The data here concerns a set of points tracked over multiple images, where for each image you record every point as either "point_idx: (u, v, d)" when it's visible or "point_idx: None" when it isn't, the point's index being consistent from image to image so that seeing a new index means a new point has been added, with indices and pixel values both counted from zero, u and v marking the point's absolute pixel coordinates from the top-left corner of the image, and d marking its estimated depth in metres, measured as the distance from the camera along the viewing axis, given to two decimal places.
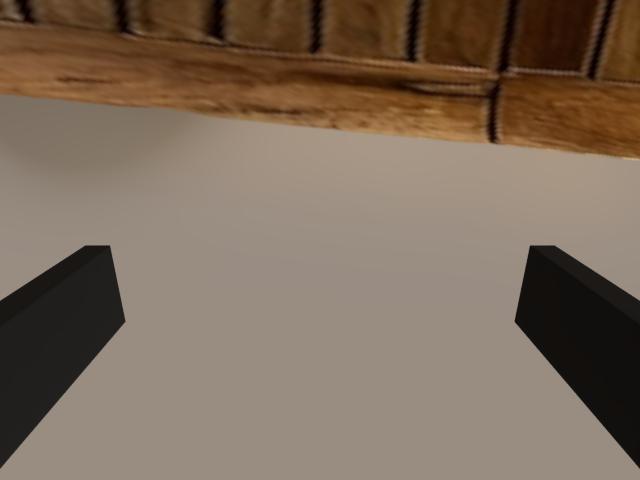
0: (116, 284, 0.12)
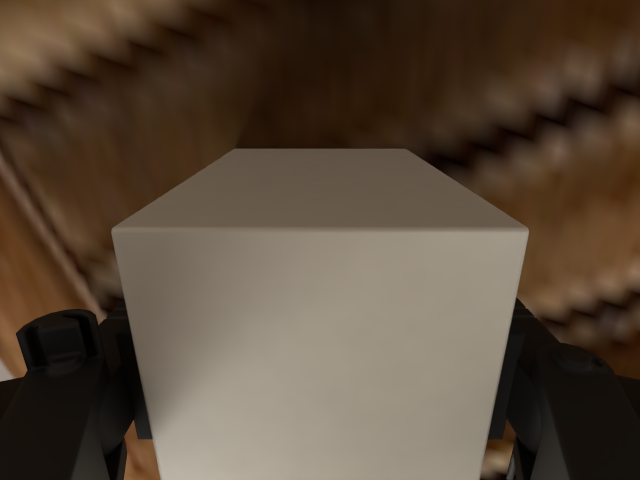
0: None
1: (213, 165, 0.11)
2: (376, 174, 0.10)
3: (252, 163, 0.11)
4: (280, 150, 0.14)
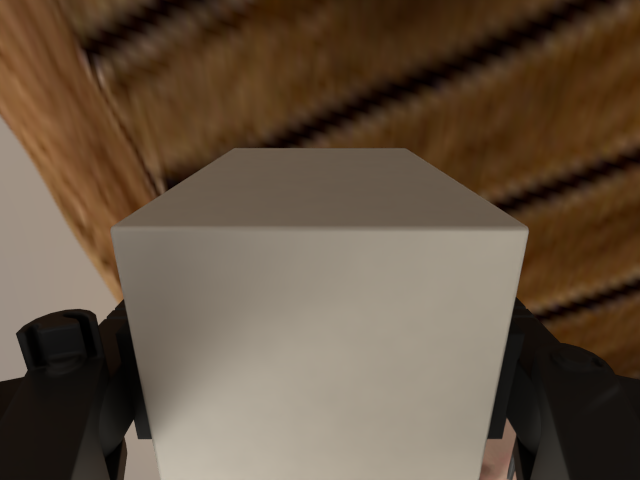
0: None
1: (213, 164, 0.11)
2: (376, 173, 0.10)
3: (252, 162, 0.11)
4: (280, 150, 0.14)
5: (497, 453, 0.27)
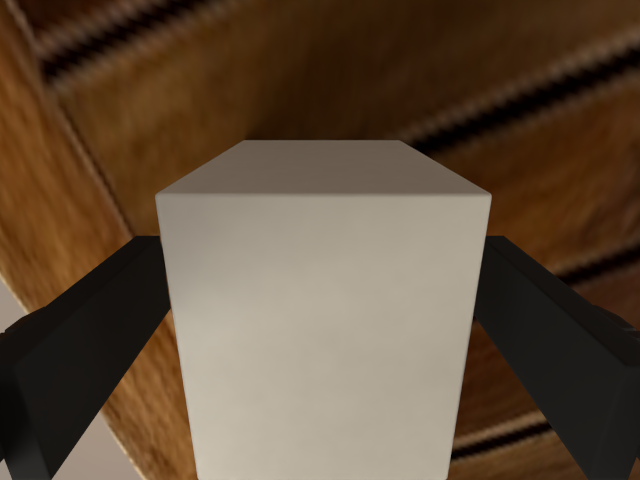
0: (163, 272, 0.13)
1: (227, 152, 0.13)
2: (371, 158, 0.11)
3: (261, 151, 0.13)
4: (285, 141, 0.15)
5: None
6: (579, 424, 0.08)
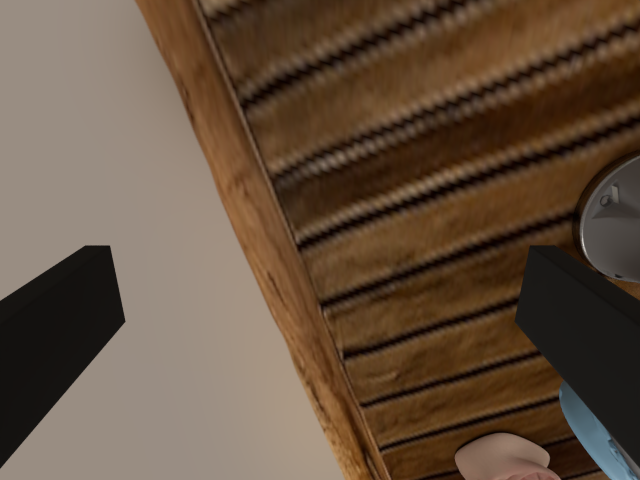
0: (116, 284, 0.12)
1: None
2: None
3: None
4: None
5: (487, 475, 0.56)
6: None
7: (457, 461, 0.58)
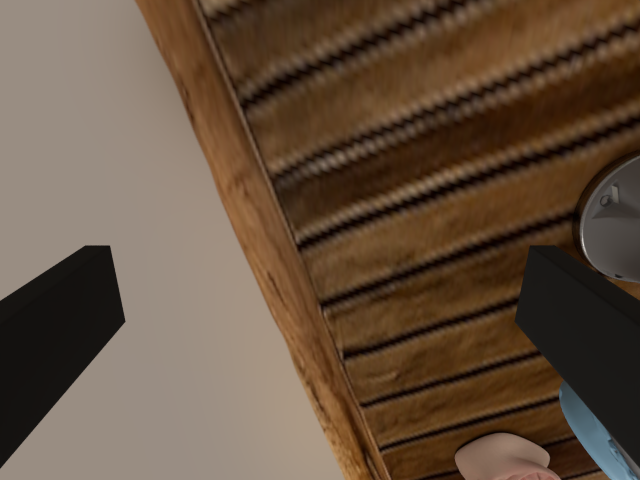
0: (116, 284, 0.12)
1: None
2: None
3: None
4: None
5: (487, 475, 0.56)
6: None
7: (457, 461, 0.58)
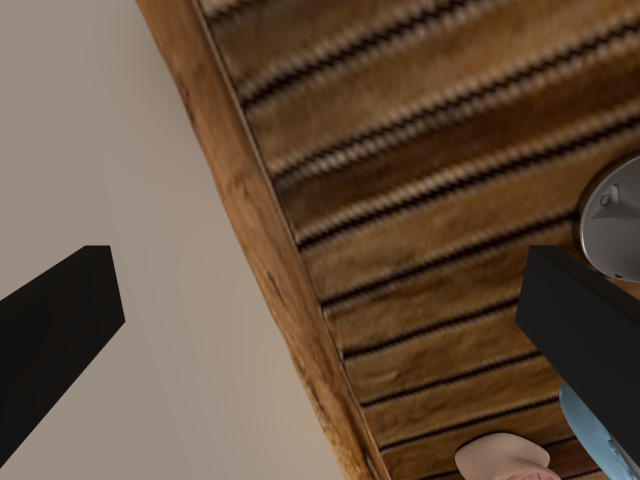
0: (116, 284, 0.12)
1: None
2: None
3: None
4: None
5: (487, 475, 0.56)
6: None
7: (457, 461, 0.58)
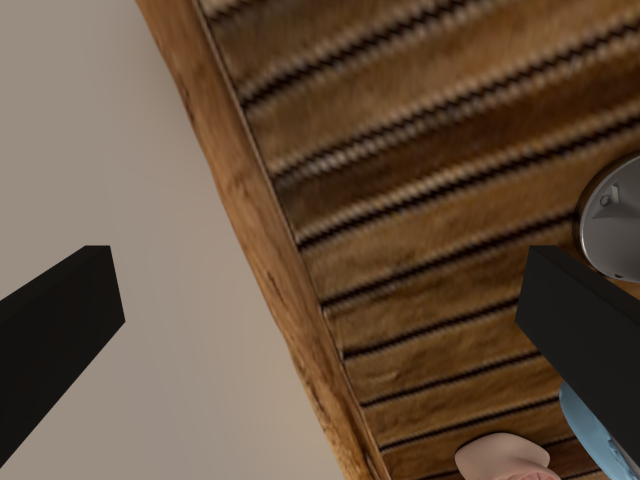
0: (116, 284, 0.12)
1: None
2: None
3: None
4: None
5: (487, 475, 0.56)
6: None
7: (457, 461, 0.58)
